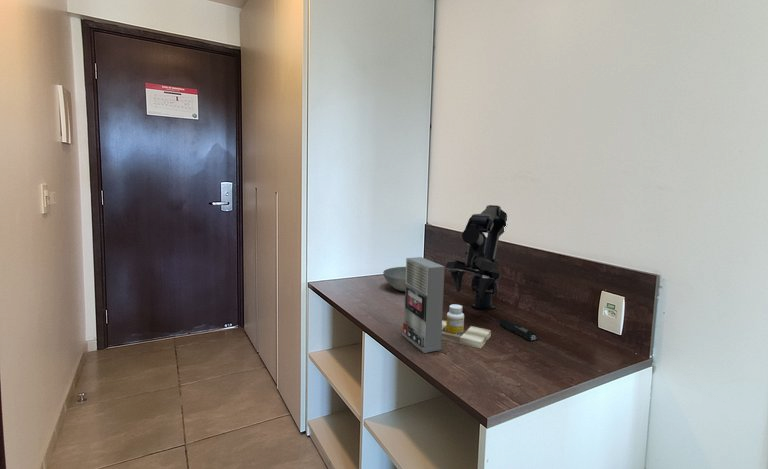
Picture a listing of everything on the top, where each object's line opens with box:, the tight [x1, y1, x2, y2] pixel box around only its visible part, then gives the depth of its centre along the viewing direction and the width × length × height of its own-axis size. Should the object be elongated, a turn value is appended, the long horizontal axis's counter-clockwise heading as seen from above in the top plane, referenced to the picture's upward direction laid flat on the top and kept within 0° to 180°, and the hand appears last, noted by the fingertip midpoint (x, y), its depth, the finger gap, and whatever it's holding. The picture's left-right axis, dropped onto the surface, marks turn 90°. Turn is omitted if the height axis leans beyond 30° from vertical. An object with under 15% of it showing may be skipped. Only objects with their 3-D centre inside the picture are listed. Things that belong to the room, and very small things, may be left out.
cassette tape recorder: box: [401, 256, 446, 354], centre depth 122 cm, size 14×6×25 cm, turn 24°
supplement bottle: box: [446, 304, 465, 336], centre depth 130 cm, size 5×5×10 cm
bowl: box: [382, 266, 406, 292], centre depth 181 cm, size 21×21×8 cm
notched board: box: [441, 319, 492, 349], centre depth 130 cm, size 11×17×2 cm, turn 61°
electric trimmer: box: [498, 317, 539, 343], centre depth 134 cm, size 4×16×3 cm, turn 24°
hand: (469, 295), depth 139 cm, fingers open, 9 cm apart
